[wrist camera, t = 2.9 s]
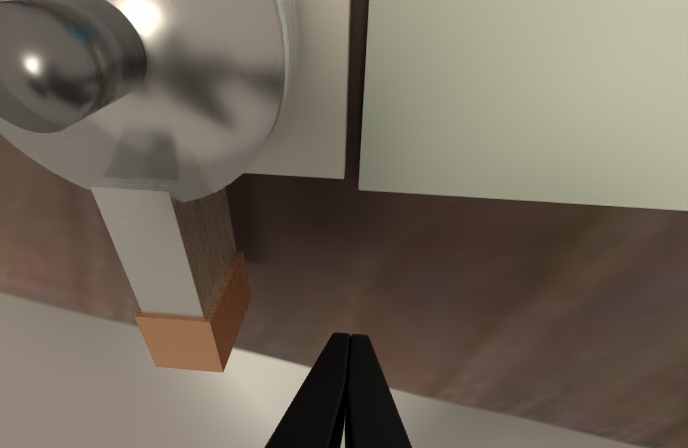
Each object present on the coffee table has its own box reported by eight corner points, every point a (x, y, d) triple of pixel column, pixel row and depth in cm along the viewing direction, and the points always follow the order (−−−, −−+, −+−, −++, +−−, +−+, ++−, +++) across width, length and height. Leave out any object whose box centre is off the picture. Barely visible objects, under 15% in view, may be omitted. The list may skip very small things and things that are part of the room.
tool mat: (771, 207, 13) (786, 216, 12) (359, 181, 14) (358, 190, 13) (1135, -245, 7) (1192, -260, 7) (384, -250, 8) (384, -265, 7)
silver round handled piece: (312, 303, 15) (288, 423, 11) (136, 289, 15) (54, 401, 11) (297, -173, 7) (205, -317, 3) (-55, -179, 7) (-497, -317, 4)
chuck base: (345, 168, 13) (339, 204, 11) (97, 153, 14) (50, 185, 12) (358, -213, 8) (351, -269, 6) (-44, -219, 8) (-170, -271, 7)
